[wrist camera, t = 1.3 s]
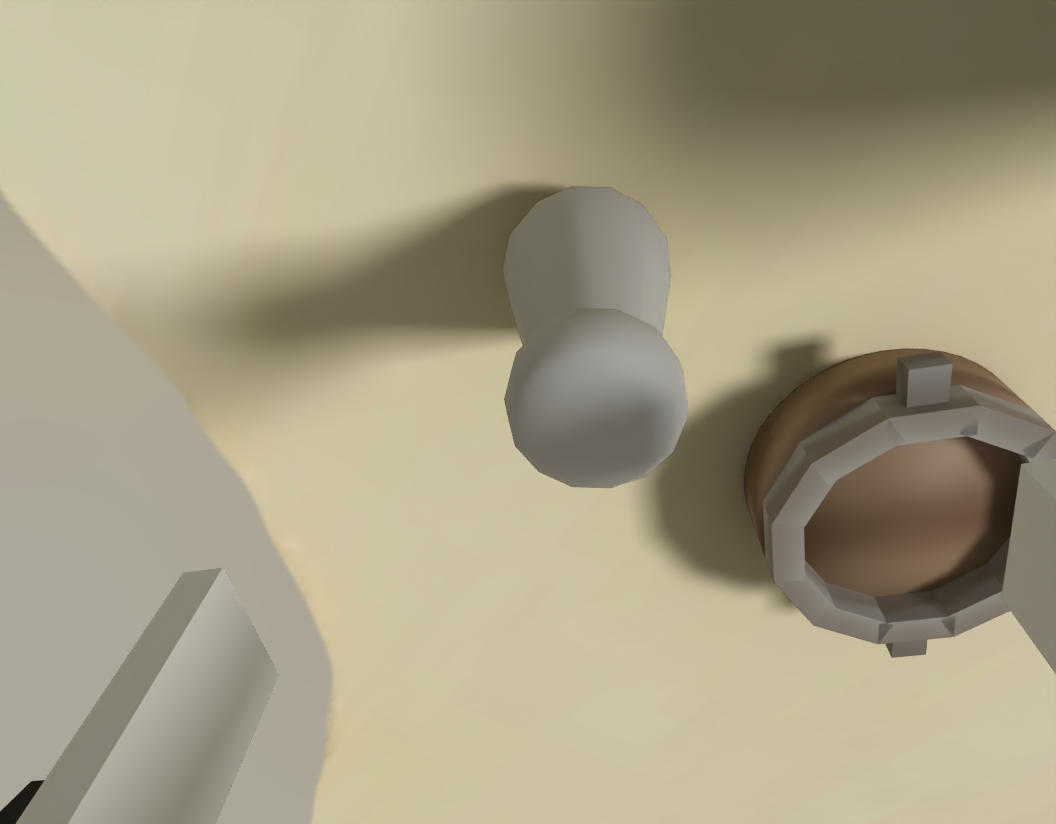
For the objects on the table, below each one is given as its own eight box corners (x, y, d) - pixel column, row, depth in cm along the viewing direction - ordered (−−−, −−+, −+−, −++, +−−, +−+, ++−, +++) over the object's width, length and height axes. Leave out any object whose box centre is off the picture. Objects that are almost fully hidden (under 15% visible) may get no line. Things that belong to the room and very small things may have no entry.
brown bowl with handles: (734, 344, 29) (759, 399, 25) (1048, 295, 28) (1126, 345, 24) (752, 603, 36) (774, 678, 32) (1004, 576, 34) (1060, 651, 31)
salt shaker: (590, 348, 30) (602, 569, 18) (478, 259, 28) (416, 442, 17) (695, 240, 27) (784, 417, 16) (579, 135, 26) (587, 252, 14)
